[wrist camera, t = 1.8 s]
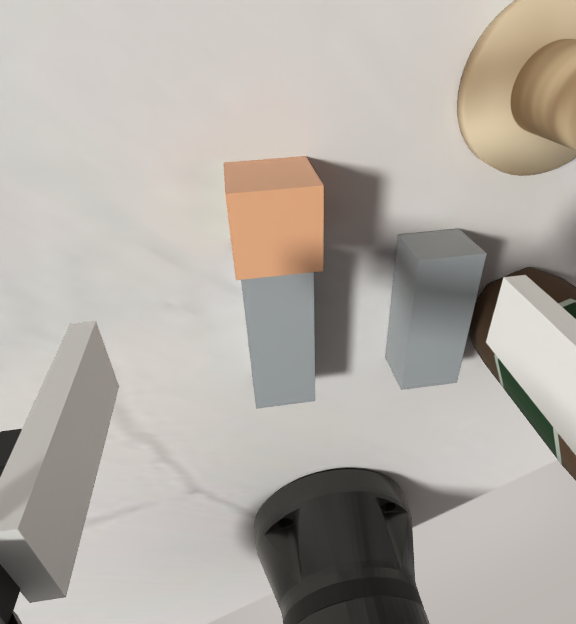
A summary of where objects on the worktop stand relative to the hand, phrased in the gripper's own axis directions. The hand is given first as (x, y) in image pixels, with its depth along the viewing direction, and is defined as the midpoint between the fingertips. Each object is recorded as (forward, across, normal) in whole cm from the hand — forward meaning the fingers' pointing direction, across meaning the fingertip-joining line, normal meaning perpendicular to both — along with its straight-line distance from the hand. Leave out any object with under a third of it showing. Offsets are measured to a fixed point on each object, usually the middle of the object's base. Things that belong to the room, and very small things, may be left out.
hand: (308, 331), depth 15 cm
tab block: (+13, 0, 0) cm, 13 cm away
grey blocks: (+13, -5, +8) cm, 16 cm away
